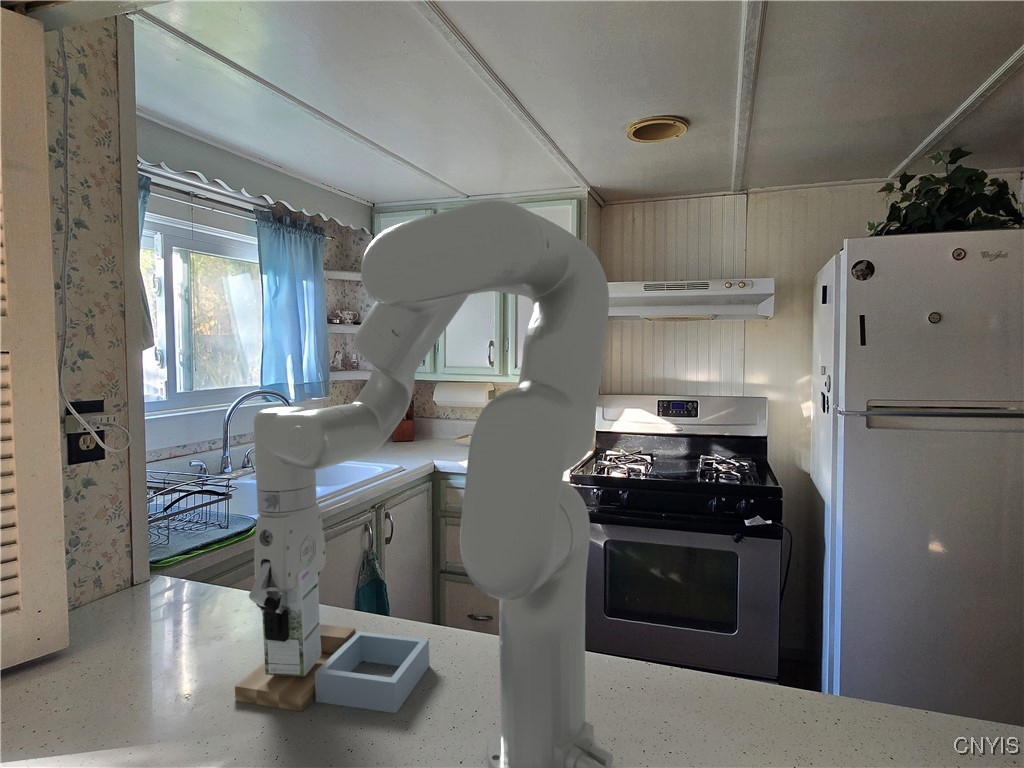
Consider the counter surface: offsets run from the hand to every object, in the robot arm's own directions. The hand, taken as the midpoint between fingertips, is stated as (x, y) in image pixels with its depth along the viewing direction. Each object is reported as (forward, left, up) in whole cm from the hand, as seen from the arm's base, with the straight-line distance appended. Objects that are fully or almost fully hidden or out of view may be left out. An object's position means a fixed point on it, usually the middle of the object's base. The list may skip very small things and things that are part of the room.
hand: (292, 626), depth 81 cm
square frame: (-8, -8, -8) cm, 14 cm away
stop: (+4, -6, -8) cm, 11 cm away
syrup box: (0, 0, -6) cm, 6 cm away
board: (0, 0, -8) cm, 8 cm away
